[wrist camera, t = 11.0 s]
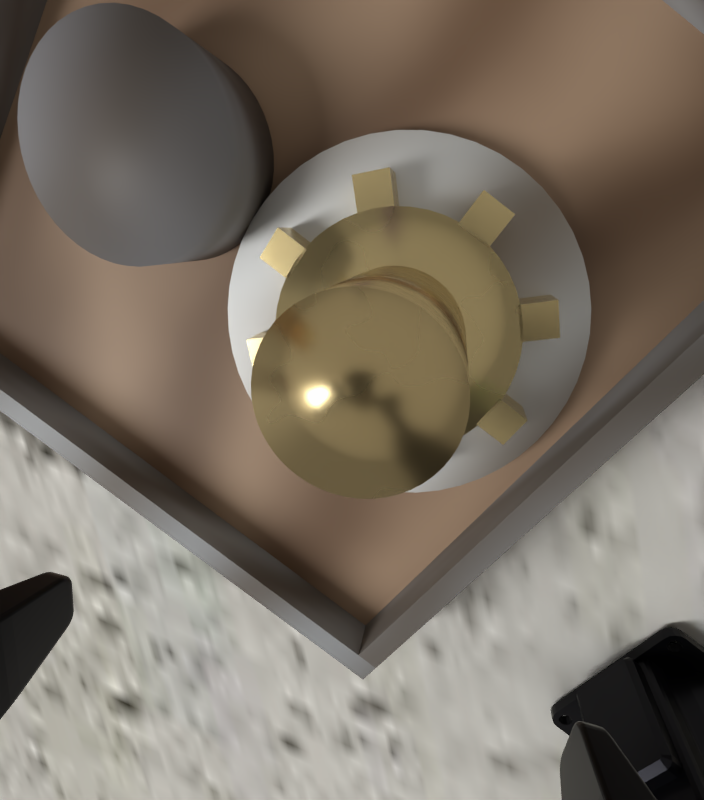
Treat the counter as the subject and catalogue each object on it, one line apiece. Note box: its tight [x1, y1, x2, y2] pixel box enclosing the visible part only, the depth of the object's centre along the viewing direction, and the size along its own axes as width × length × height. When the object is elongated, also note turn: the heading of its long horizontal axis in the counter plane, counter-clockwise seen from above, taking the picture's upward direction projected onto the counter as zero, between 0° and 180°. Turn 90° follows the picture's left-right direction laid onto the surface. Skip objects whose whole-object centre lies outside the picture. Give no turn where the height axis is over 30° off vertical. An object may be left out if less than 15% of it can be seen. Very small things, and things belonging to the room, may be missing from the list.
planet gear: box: [247, 167, 560, 499], centre depth 12 cm, size 9×9×7 cm
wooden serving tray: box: [0, 0, 704, 679], centre depth 15 cm, size 22×22×4 cm
